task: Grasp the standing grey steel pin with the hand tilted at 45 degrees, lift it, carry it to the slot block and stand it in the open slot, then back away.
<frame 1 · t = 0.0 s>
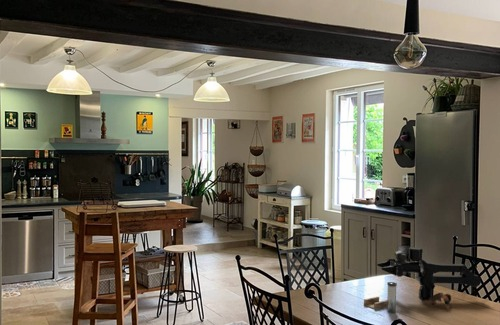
hand: (379, 266, 265), 17 cm above the table, tool horizontal, fingers open, 9 cm apart
pin: (391, 311, 241), on the table
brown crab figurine: (441, 307, 251), on the table
slot block: (376, 305, 251), on the table
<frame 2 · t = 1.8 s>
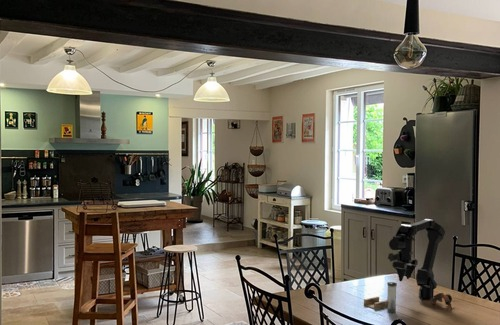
hand: (404, 280, 254), 13 cm above the table, tool pointing down, fingers open, 9 cm apart
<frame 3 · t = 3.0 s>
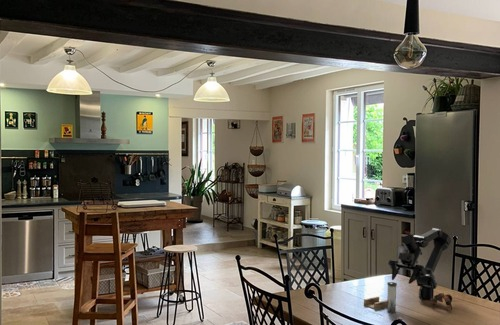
hand: (400, 281, 247), 13 cm above the table, tool tilted 45°, fingers open, 9 cm apart
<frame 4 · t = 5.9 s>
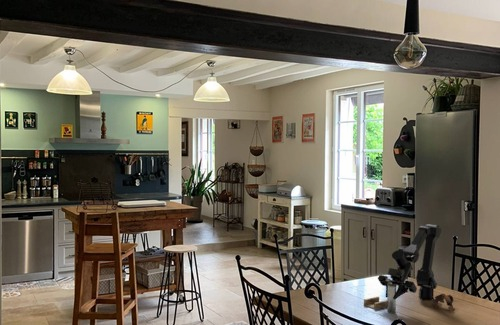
hand: (390, 297, 240), 7 cm above the table, tool tilted 45°, fingers closed on pin, 4 cm apart
pin: (391, 311, 241), on the table, touching gripper
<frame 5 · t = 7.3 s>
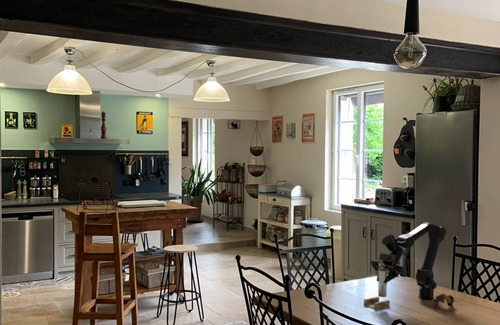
hand: (380, 282, 246), 13 cm above the table, tool tilted 45°, fingers closed on pin, 4 cm apart
pin: (382, 295, 247), point 6 cm above the table, touching gripper
when the fingers open (8 cm above the table, at t = 9.0 s): pin stays where it is, resting on slot block.
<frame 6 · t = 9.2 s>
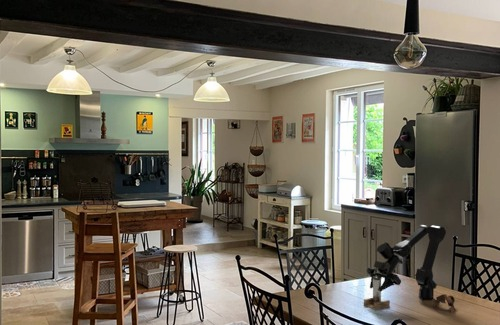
hand: (375, 289, 250), 9 cm above the table, tool tilted 45°, fingers open, 6 cm apart
pin: (376, 304, 251), point 1 cm above the table, touching slot block
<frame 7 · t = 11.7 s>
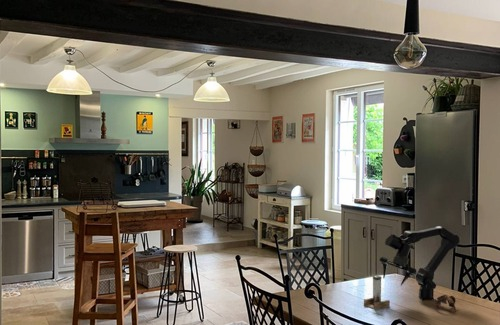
hand: (392, 281, 256), 11 cm above the table, tool tilted 30°, fingers open, 9 cm apart
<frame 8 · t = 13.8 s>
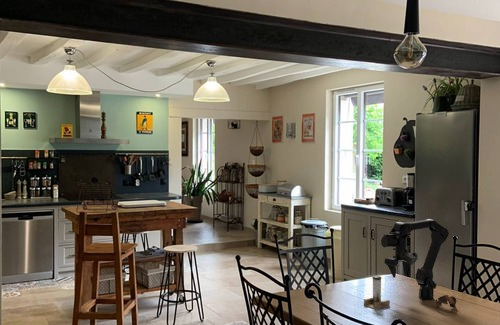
hand: (400, 276, 259), 13 cm above the table, tool pointing down, fingers open, 9 cm apart
at the end: pin inside the target area on the slot block (0.1 cm from its centre), point 0.6 cm above the slot block's base; pin tilted 1°; the gripper is holding nothing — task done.
